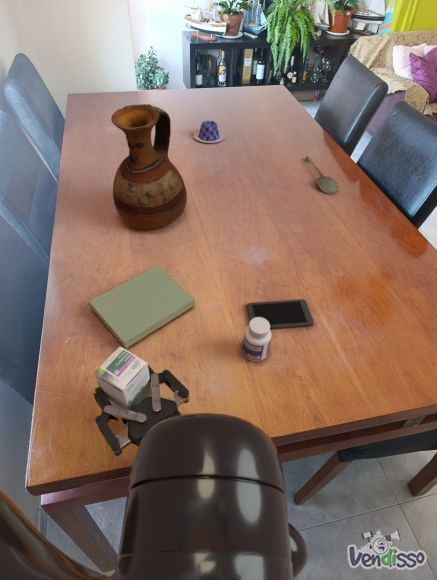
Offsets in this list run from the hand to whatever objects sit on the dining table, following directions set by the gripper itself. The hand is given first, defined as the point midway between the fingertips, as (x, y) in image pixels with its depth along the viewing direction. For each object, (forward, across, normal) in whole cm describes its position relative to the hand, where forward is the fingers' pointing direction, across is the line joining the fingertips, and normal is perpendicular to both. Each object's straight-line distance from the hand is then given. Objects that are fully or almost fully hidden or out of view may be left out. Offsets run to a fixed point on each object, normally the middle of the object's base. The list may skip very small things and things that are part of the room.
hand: (118, 377), depth 61 cm
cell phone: (-4, -37, +9) cm, 39 cm away
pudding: (+72, -82, +9) cm, 110 cm away
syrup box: (-2, 0, +9) cm, 9 cm away
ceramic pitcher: (+45, -37, +9) cm, 59 cm away
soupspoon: (+28, -93, +9) cm, 98 cm away
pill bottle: (-7, -26, +10) cm, 29 cm away
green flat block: (+17, -15, +9) cm, 25 cm away
